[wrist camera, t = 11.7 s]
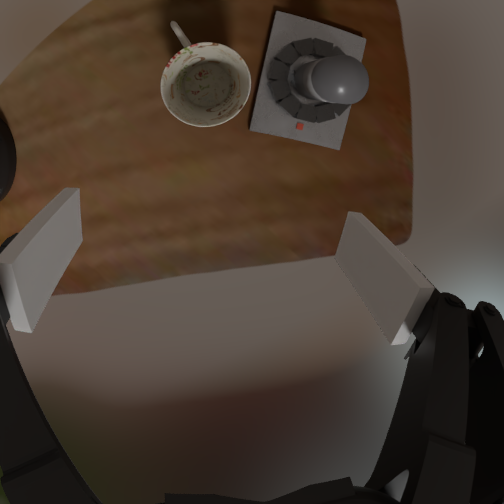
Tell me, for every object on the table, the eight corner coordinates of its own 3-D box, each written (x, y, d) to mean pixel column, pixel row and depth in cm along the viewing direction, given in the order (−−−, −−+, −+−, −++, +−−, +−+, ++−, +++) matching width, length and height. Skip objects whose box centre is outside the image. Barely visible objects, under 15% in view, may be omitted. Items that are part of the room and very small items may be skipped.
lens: (289, 94, 35) (314, 96, 27) (299, 56, 33) (326, 47, 24) (328, 104, 36) (362, 111, 28) (337, 68, 34) (374, 64, 25)
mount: (248, 129, 38) (251, 132, 35) (275, 12, 31) (279, 7, 28) (336, 148, 40) (345, 153, 38) (363, 40, 33) (373, 37, 30)
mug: (194, 130, 37) (188, 143, 29) (144, 49, 31) (123, 38, 23) (253, 97, 36) (267, 100, 27) (204, 15, 30) (202, -8, 21)
